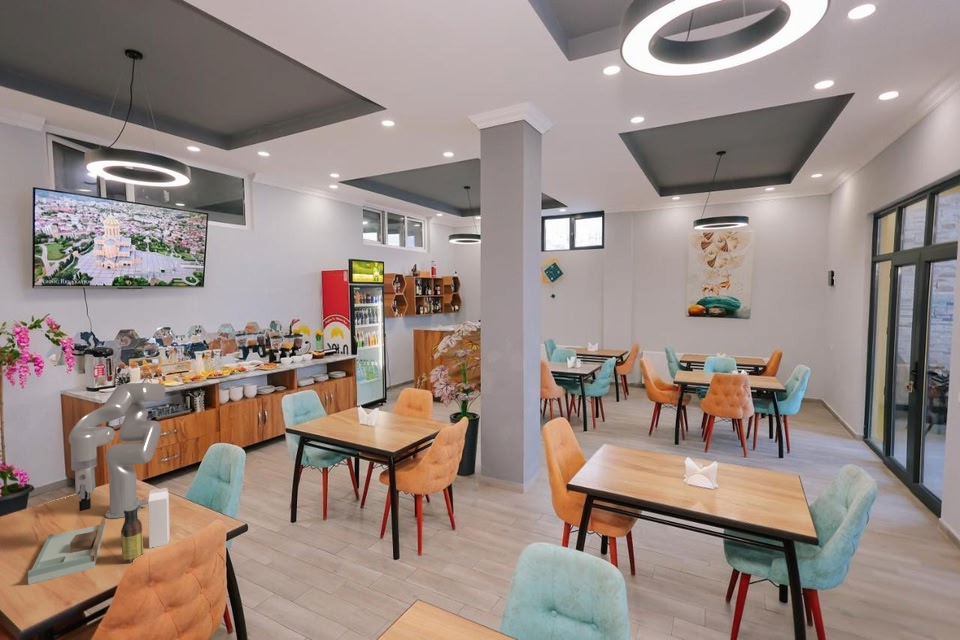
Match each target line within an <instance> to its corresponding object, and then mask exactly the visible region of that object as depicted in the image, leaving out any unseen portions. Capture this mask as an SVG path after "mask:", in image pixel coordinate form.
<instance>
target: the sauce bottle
mask: <svg viewBox="0 0 960 640" xmlns="http://www.w3.org/2000/svg"><path fill="white" fill-rule="evenodd" d="M137 511H138V507H137V506H130V507H127V508H125V509H124V514H125V517H124V522H123V525H122V527H121V531H120V538H121V541H120V542H121V556H122V558H121V559H122V561H123V563H125V564H128V563H129V564H130V563H133V562H132V561H133V560H134V559H135V558H137V557H139V556H141V555H143V556H144V535H143V524H142V521H141V520H140V519H139V518H138V517H139V516H138V512H139V511H138V512H137Z"/></svg>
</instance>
